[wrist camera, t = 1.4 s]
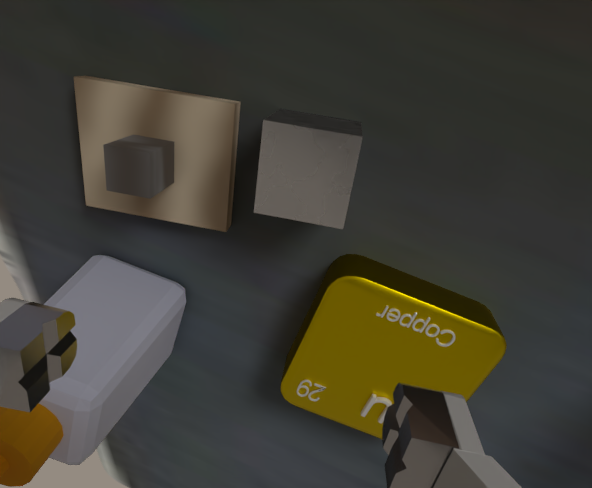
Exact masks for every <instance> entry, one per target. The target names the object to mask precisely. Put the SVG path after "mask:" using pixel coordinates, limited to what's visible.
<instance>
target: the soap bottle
mask: <svg viewBox="0 0 592 488" xmlns="http://www.w3.org/2000/svg"><path fill="white" fill-rule="evenodd" d="M44 305H47V306H51V307H55V308H59V309H63V310H67V311H70V312H72V313H73V314H74V317H75V324H76V325H75V326H74V327H73V328H72V329H71V330H70V331H71V332H72V334H73V335H74V336H75V337H76V339H77V352H76V357H75V359H74V361H73V363H72V365H71V367H70V368H69V370H68V371H67V372H66V373H65V374H64V375H63V377H60V378H58V379H56V380H54V381H51V382H50V391H49V392H48V393H47V394H46V396H45V397H44V398H43V399H42V400H41V401H40V402H39V403H38V404H37V405H36V407H35V408H34V409H33V410H32V411H31V412H25V411H20V410H15V409H10V408H5V407H0V484H2V485H6V486H23V485H25V484H27V483H29V482H30V481H31V480H32V478H33V477H34V476H35V474H36V473H37V472H38V470H39V469H40V468H41V467H42V465H43V464H44V463H45V461H46V460H47V459H48V457H49V458H52V459H55V460H57V461H60V462H63V463H66V464H68V465H80V464H81V463H82V462H83V461H84V460H85V459H86V458H88V457H89V456H90V455H91V454H92V453H93V452H94V451H95V449H96V448H97V447H98V446H99V444H100V443H101V442H102V441H103V439H104V438H105V437H106V436H107V434H108V433H109V432H110V430H111V429H112V428H113V427H114V425H115V424H116V423H117V422H118V420H119V419H120V418H121V417H122V415H123V414H124V413H125V411H126V410H127V409H128V408H129V406H130V405H131V404H132V403H133V401H134V400H135V399H136V398H137V396H138V395H139V394H140V392H141V391H142V390H143V389H144V387H145V386H146V385H147V384H148V382H149V381H150V380H151V378H152V377H153V376H154V375H155V373H156V372H157V371H158V370H159V368H160V367H161V366H162V365H163V363H164V362H165V361H166V359H167V358H168V357H169V356H170V354H171V352H172V349H173V346H174V342H175V339H176V335H177V332H178V328H179V325H180V322H181V318H182V315H183V311H184V308H185V305H186V295H185V288H184V287H182V286H181V285H180V284H179V283H177V282H174V281H172V280H169V279H167V278H164V277H162V276H159V275H156V274H154V273H151V272H149V271H146V270H144V269H141V268H138V267H136V266H133V265H131V264H128V263H126V262H123V261H121V260H118V259H115V258H113V257H110V256H104V255H96V256H93V257H92V258H91V259H90V260H88V261H87V262H86V263H85V264H84V265H83V266H82V267H81V268H80V269H79V270H78V271H77V272H76V273H75V274H74V275H73V276H72V277H71V278H70V279H69V280H68V281H67V282H66V283H65V284H64V285H63V286H62V287H61V288H60V289H59V290H58V291H57V292H56V293H55V294H54V295H53V296H52V297H51V298H50V299H49V300H48V301H47V302H46V303H45V304H44Z"/></svg>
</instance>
